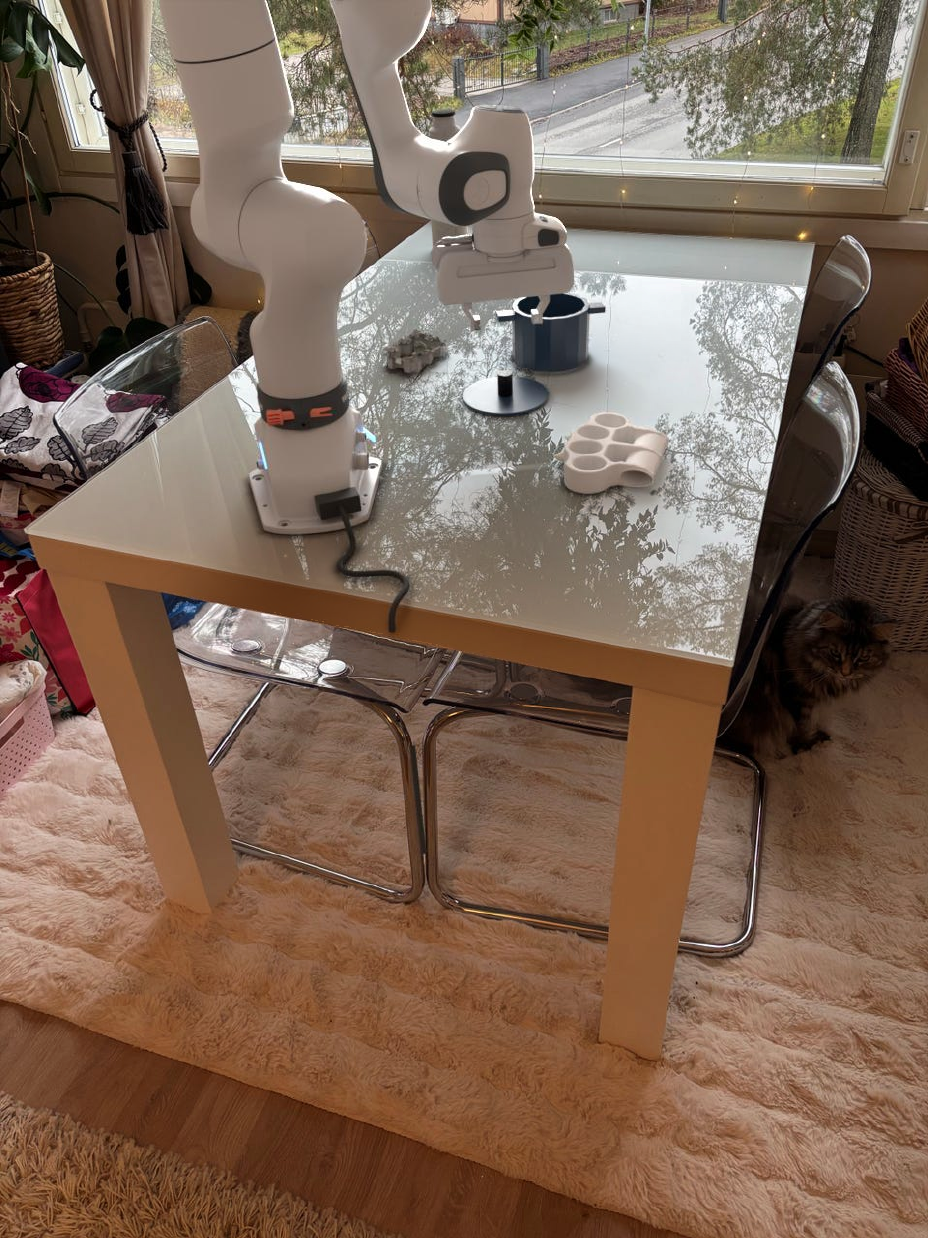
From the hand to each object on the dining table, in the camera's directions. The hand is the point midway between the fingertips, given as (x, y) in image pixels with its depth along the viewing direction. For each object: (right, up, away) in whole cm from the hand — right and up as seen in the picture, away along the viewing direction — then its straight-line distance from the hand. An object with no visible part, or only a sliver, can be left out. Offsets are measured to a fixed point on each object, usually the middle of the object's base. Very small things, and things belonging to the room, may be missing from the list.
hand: (506, 325), depth 141 cm
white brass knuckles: (+14, -23, -10) cm, 28 cm away
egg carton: (-15, 0, +21) cm, 25 cm away
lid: (0, -9, +7) cm, 11 cm away
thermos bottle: (-9, +38, +68) cm, 79 cm away
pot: (+8, 0, +19) cm, 21 cm away
